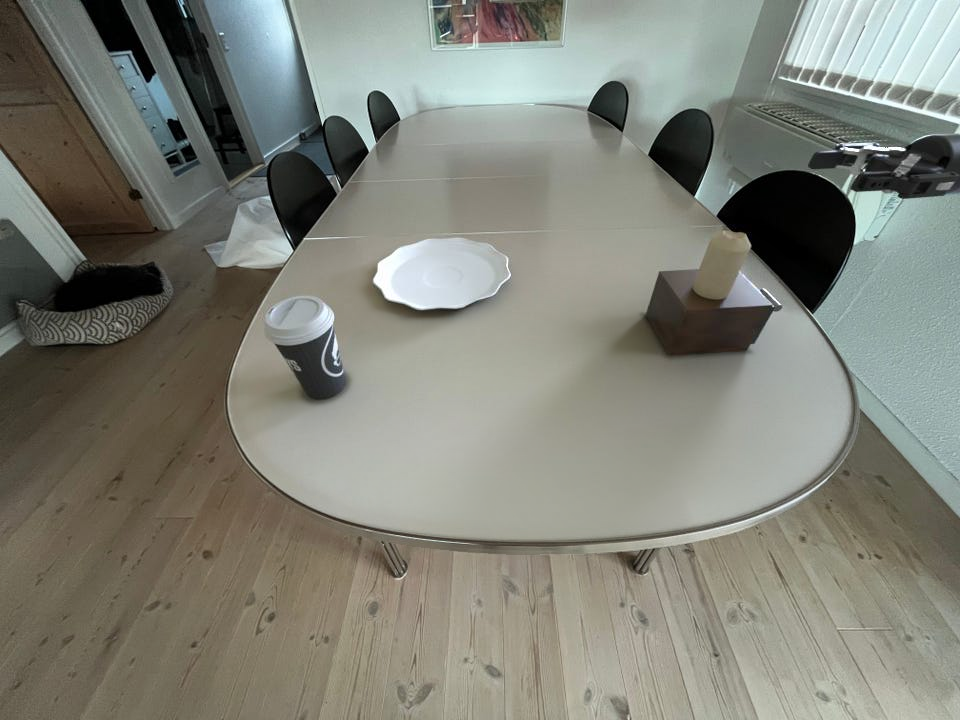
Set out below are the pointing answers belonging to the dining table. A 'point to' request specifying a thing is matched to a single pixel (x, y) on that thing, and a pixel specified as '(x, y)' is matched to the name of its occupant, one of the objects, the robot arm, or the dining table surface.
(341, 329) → the dining table surface
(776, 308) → the drawer
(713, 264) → the candle
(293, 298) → the coffee cup
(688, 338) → the cabinet
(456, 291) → the plate
